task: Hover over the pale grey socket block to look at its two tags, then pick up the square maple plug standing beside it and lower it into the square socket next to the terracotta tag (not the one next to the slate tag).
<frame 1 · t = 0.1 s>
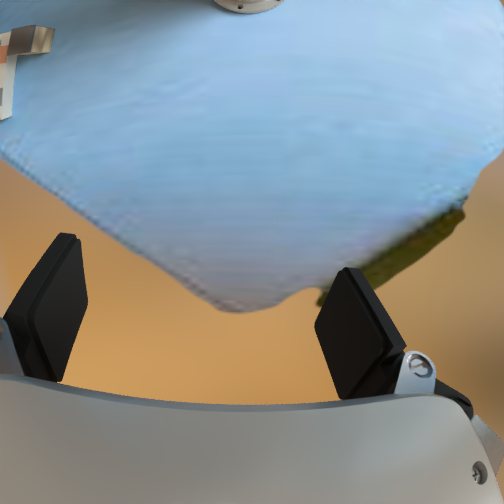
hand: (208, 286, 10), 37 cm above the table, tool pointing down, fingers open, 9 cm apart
plug: (42, 41, 28), on the table
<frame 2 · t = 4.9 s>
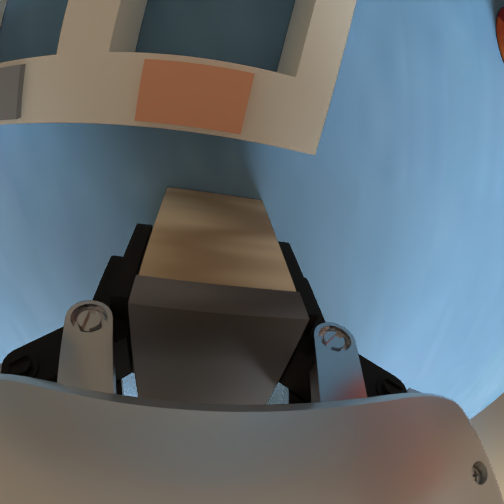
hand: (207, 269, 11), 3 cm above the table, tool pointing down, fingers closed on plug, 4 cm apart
plug: (207, 235, 13), on the table, touching gripper
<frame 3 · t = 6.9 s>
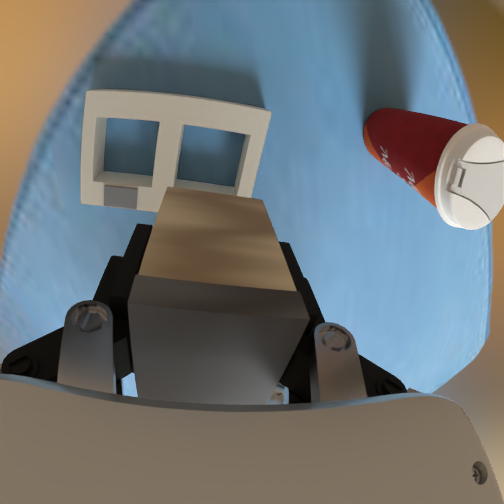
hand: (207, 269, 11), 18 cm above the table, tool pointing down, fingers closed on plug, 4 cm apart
socket block: (170, 148, 25), on the table
paper cup: (386, 134, 27), on the table
plug: (208, 234, 13), point 15 cm above the table, touching gripper
when the fingers open (4 cm above the table, at t = 8.7 s): plug drops 1 cm, resting in socket block.
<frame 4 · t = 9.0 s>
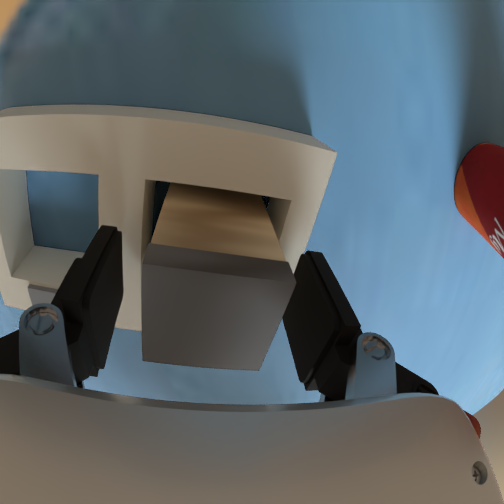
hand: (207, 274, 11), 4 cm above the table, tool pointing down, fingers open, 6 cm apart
socket block: (135, 211, 14), on the table
paper cup: (479, 180, 15), on the table
plug: (208, 220, 15), resting in socket block
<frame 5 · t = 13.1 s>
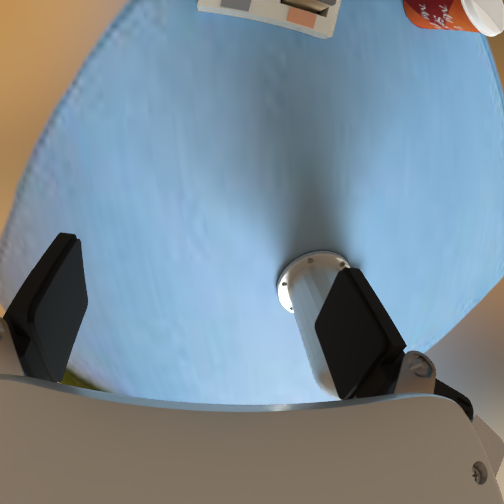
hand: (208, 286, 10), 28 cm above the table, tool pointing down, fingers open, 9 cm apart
paper cup: (418, 11, 26), on the table
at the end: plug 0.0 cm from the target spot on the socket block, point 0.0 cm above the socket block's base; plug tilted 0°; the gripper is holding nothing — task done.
